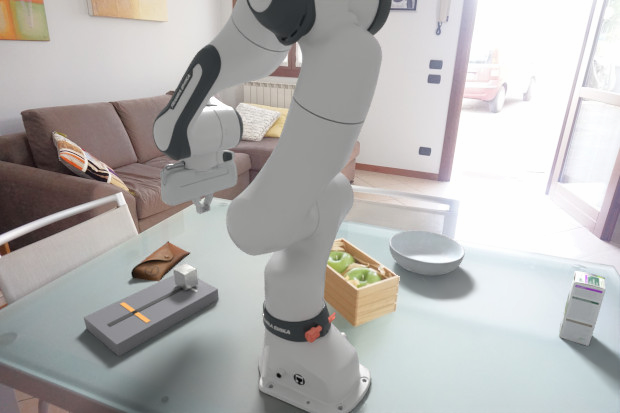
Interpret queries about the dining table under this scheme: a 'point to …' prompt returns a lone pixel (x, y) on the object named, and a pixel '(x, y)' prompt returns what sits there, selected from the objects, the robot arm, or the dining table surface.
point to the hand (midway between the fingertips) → (203, 211)
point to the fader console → (147, 313)
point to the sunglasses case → (159, 263)
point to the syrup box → (582, 307)
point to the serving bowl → (426, 252)
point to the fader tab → (185, 276)
